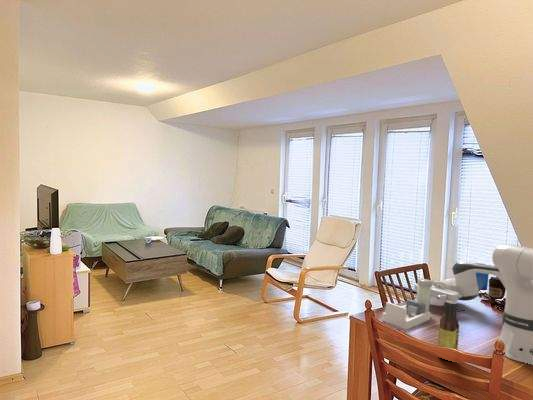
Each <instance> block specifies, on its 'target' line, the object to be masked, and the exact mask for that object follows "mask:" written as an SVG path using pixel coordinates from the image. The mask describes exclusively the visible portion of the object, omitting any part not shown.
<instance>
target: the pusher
mask: <svg viewBox="0 0 533 400" xmlns="http://www.w3.org/2000/svg"><path fill="white" fill-rule="evenodd" d="M405 305H406V308H407V312H408V313H411V314H414V315H420V314H422V313H425V306H426V305H425V304H421V303H418V302H416V300H415V301H414V300H411V299H406V302H405Z"/></svg>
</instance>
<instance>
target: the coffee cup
mask: <svg viewBox="0 0 533 400" xmlns="http://www.w3.org/2000/svg"><path fill="white" fill-rule="evenodd" d="M489 297H490V298H491V299H489ZM504 297H506V289H505V287H504V285H503V284H502V282H501V281H500V280H499V278H497V277H496V276H490V278H488V302H489V303H491V302H492V304H495V303H494V302H495V299H502V298H503V299H504Z"/></svg>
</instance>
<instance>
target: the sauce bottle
mask: <svg viewBox="0 0 533 400" xmlns="http://www.w3.org/2000/svg"><path fill="white" fill-rule="evenodd" d="M457 308H458V301H457V302H455V301H450V300H444V311H443V313H444V314H443V315H442V316H441V317H440V320H439V326H438V338H437V339H438V340H437V346H438V345H439V346H443V347H448V348H452V349H456V350H457V351H458V348H459V347H458V346H459V336H460V335H459V333H460V324H459V320H458V317H457Z"/></svg>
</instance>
